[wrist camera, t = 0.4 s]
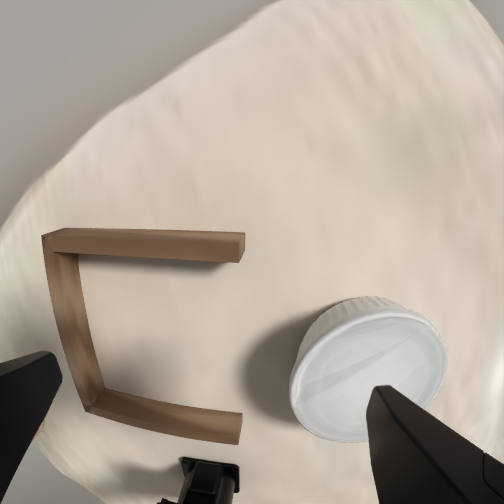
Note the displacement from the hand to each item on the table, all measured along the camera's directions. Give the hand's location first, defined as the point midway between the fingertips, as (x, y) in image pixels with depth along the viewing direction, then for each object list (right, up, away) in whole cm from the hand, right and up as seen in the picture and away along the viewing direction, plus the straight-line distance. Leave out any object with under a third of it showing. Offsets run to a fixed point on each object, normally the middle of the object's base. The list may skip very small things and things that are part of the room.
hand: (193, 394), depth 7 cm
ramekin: (+10, -4, +15) cm, 18 cm away
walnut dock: (-6, -3, +16) cm, 17 cm away
